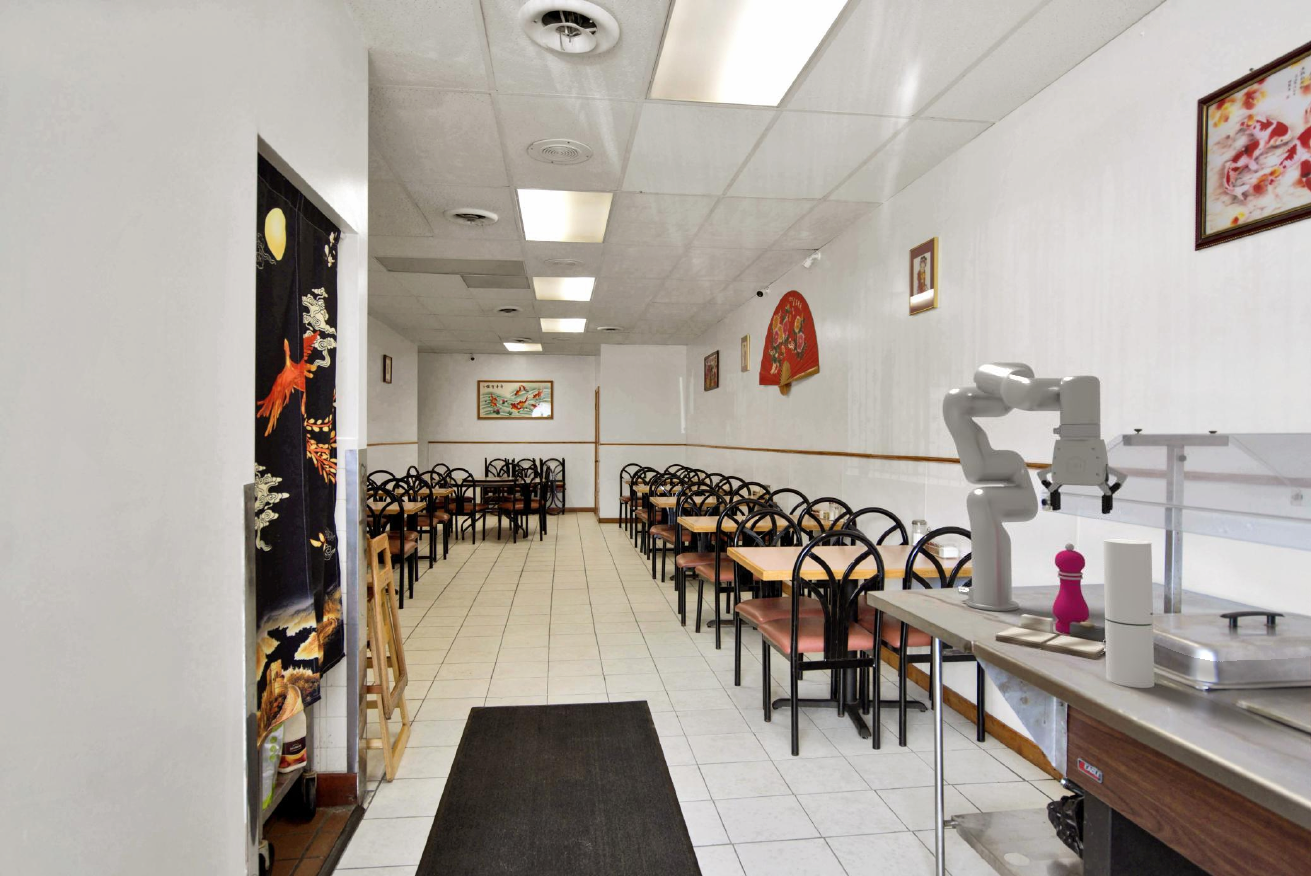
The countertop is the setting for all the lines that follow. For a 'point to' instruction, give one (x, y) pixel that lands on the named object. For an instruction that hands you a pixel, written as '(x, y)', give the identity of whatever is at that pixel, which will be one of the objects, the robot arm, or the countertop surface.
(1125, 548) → the cylindrical container
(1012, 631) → the board
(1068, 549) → the pepper mill
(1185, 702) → the countertop surface
